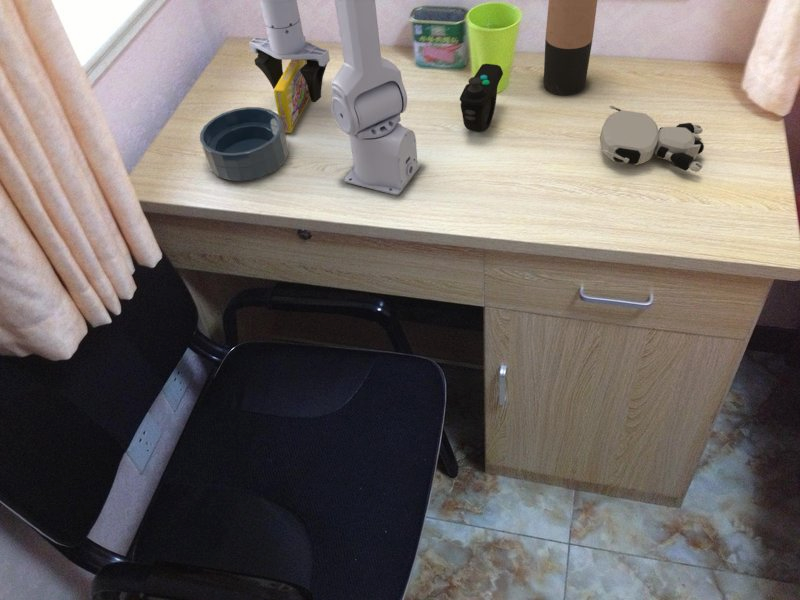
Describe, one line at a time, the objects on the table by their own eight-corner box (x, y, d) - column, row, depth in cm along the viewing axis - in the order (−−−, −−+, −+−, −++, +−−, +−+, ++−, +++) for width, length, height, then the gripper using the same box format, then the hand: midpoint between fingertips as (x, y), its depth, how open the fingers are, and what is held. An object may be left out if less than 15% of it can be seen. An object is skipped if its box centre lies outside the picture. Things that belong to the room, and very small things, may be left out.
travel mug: (554, 69, 124) (565, -47, 109) (594, 79, 120) (610, -38, 106) (533, 89, 120) (542, -28, 105) (574, 100, 117) (588, -19, 102)
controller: (457, 143, 111) (455, 87, 104) (480, 102, 119) (480, 47, 111) (482, 147, 110) (483, 91, 102) (504, 105, 117) (506, 50, 110)
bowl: (304, 144, 114) (298, 115, 110) (259, 191, 107) (251, 162, 103) (240, 129, 119) (232, 101, 115) (193, 173, 112) (182, 144, 107)
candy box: (293, 134, 117) (283, 90, 111) (281, 133, 117) (270, 90, 111) (319, 83, 127) (311, 41, 121) (308, 83, 128) (300, 40, 121)
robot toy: (698, 140, 108) (601, 125, 111) (707, 115, 104) (607, 100, 107) (697, 188, 100) (593, 171, 103) (707, 163, 97) (599, 146, 100)
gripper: (333, 15, 110) (345, 91, 120) (259, 3, 115) (276, 77, 125) (310, 35, 106) (324, 112, 116) (235, 22, 111) (254, 97, 121)
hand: (298, 95), depth 120 cm, fingers open, 7 cm apart
